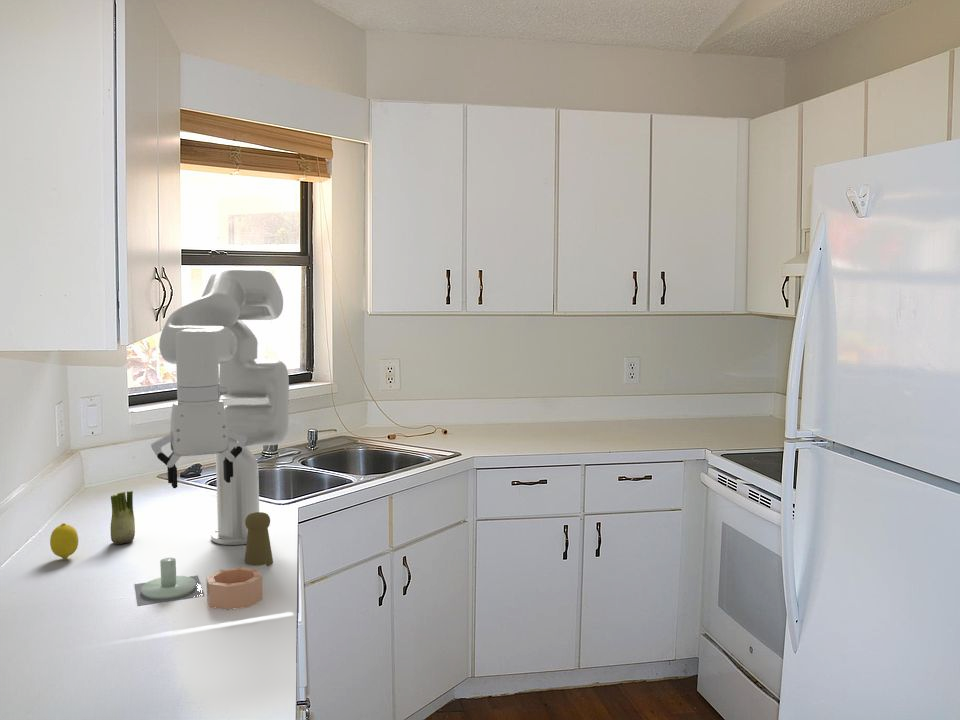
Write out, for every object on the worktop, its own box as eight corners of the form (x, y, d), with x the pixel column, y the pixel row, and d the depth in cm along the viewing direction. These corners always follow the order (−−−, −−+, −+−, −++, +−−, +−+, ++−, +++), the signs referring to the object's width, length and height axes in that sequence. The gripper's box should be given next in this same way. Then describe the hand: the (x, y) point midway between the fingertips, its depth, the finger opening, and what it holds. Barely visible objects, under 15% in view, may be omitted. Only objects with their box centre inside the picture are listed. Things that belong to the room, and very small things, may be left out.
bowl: (205, 597, 163) (204, 571, 162) (256, 589, 167) (255, 564, 166) (211, 615, 154) (211, 588, 154) (265, 606, 158) (264, 581, 158)
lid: (140, 585, 167) (139, 555, 167) (193, 577, 172) (192, 549, 171) (142, 603, 158) (141, 572, 158) (198, 594, 162) (197, 564, 162)
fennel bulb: (133, 537, 199) (131, 488, 198) (139, 543, 195) (137, 492, 194) (107, 542, 196) (105, 491, 195) (112, 547, 192) (110, 496, 191)
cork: (244, 569, 178) (242, 518, 177) (244, 559, 184) (242, 510, 183) (273, 566, 180) (272, 516, 179) (272, 557, 186) (271, 508, 184)
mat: (134, 587, 168) (134, 584, 168) (197, 578, 173) (197, 575, 173) (137, 608, 157) (137, 605, 157) (204, 598, 162) (204, 595, 162)
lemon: (71, 553, 188) (70, 518, 187) (83, 558, 185) (82, 522, 184) (46, 559, 184) (44, 523, 183) (58, 565, 180) (56, 528, 180)
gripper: (241, 389, 166) (243, 475, 168) (147, 395, 158) (150, 484, 160) (249, 394, 159) (251, 483, 161) (151, 400, 151) (154, 493, 153)
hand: (201, 483), depth 160 cm, fingers open, 9 cm apart
